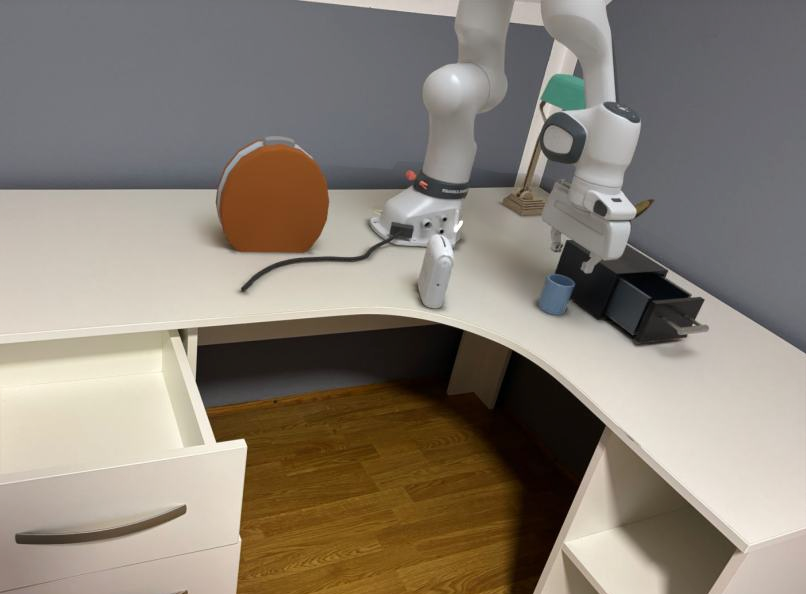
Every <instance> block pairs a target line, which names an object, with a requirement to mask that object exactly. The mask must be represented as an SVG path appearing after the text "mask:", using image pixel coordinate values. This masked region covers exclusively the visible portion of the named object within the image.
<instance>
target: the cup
mask: <svg viewBox="0 0 806 594" xmlns="http://www.w3.org/2000/svg"><path fill="white" fill-rule="evenodd" d="M574 286H575V282H574V281H573V280H572V279H570V278H568V277H566V276H563V275H559V274H555V273H549V274H548V275H547V277H546V280H545V282H544V285H543V288H542V291H541V293H540V297H539V299H538V302H537V307H538V308H539V309H540V310H541V311H543V312H545V313H547V314H550V315H553V316H562V315H564V314H565V312H566V310H567V307H568V305H569V302H570V300H571V299H570V297H571V294H572V292H573V289H574Z"/></svg>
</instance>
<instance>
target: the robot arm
mask: <svg viewBox="0 0 806 594" xmlns="http://www.w3.org/2000/svg"><path fill="white" fill-rule="evenodd" d="M515 1H516V0H458V5H457V10H456V15H455V19H454V25H453V29H454V33H455V35H456V37H457V44H458V45H457V46H458V47H457V48H458V53H457V55H458V57H457V62H456V63H448V64H444V65H442V66H441V67H439V68H437V69H436V70H434V71H432V72H431V73H429V75H428V76H427V77H426V78H425V81H424V82H423V85H422V96H421V97H422V102H423V105H424V106H425V108H426V110H427V112H428V123H429V124H428V125H429V126H428V127H429V128H428V129H429V131H428V141H427V147H426V151H425V156H424V160H423V164H422V165H423V166H422V168H421V169H420V170H419V172H418V174H417V173H416V172H414V171H413V170H408V171H407V172H406V173H405V177H406V179H408V180H409V181H410V182H412V184H411V186H409V187H407V188H406V189H404V190H402V191H401V192H399V193H398V194H396V195H394V196H393V197H391V198H389V199H388V200H387V201H386V202H385V203H384V205H383V208H382V210H381V213H380V216H372V217H370V220H369V226H370V228H371V230H373V231H374V233H376V234H377V236H379V237H380V238H382V241H380V242H378V243H376V244H374V245H373V246H371V247H370V248H369V249H368V250H367V251H366V252H365V253H364V254H362V255H358V256H334V255H333V256H332V255H329V256H328V255H327V256H325V255H323V256H303V257H293V258H288V259H284V260H280V261H277V262H275V263H272V264H270V265H268V266H266V267H264V268H262V269H261V270H259V271H258V272H256V273H254V275H252V276H251V278H249V280H247V281H246V283H244V285H242V287H241V288H240V290H241V292H245V291H246V290H247V289H249V287H250V286H251V285H252V284H253V283H254V282H255V281H256V280H258V279H259V277H261V276H262V275H264V274H266V273H268V272H269V271H271V270H273V269H275V268H278V267H280V266H281V267H282V266H284V265H289V264H293V263H300V262H319V261H338V262H339V261H340V262H355V261H361V260H364V259H366V258H368V257H369V256H370V255H371V254H372V253H373V251H375V250H376V249H378V248H380V247H382V246H384V245H386V244H389V243H390V244H393V245H395V246H406V247H407V246H408V247H423V248H424V247H426V248H427V243H428V241H429V239H430V237H432V236H433V235H435V234H438V235H443V236H445V237H446V238H447V239H448V241H449V242H450V244H451V247H452V249H454V248H456V243H458V242H460V240H461V238H462V228H461V227H462V225H463V222H464V221H463V220H462V217H463V210H464V203H465V200H466V198H467V196H468V193H469V189H470V185H471V180H470V177H471V174H472V170H473V166H474V164H475V163H474V162H475V160H476V159H475V158H476V154H477V150H478V144H477V142H476V141H475V119H476V116H477V115H480V114H483V113H487V112H489V111H491V110H493V109H494V108H496V107H497V106H498V105H499V104H500V103H501V102H503V100H504V98H505V97H506V95H507V92H508V87H509V85H508V78H507V75H506V72H505V57H506V43H507V36H508V35H507V34H508V31H509V27H510V22H511V19H512V14H513V9H514V5H515ZM606 6H607V5H606V0H540V13H541V19H542V23H543V27H544V29H545V30H546V32H547V33H548V35H549V36H551V38H553V39H554V40H555V41H556V42H558V43H560V44H562V45H563V46H564V47H566V48H567V49H568V51H570V52H571V53H573V55H575V56H576V58H577V60H578V61H579V65H580V66H581V70H582V77H583V78H582V79H583V80H584V91H585V102H586V109H583V110H570V111H566V110H562V111H558V112H553V113H552V114H550V115H549V117H548V118H546V119H547V120H546V121H545V123H544V122H543V125H542V126H541V129H540V132H541V133H540V132H539V134H540V146H541V152H542V154H543V155H544V156H545V158H546V159H547V160H549V161H551V162H553V163H554V162H555V163H558V164H565V165H572V166H574V168H575V171H574V174H573V177H572V180H571V181H569V180H568V179H566V178H561V179H558V180H557V181H555V182H554V184H553V187H552V190H551V191H550V193H549V194H548V197H547V198H548V199H547V201H546V203H545V206H544V208H543V211H542V214H541V215H540V216H541V221H542V222H544V223H546V224H547V226H549V227H551V230H550V238H551V243H550V247H549V249H550V250H551V251H552V252H553V253H562V251H563V248H564V243H562V235H563V236H565V237H567V238H568V239H569V240H573V241H575V242H576V243H578V244H579V245H581V246H583V247H584V248H586V249H587V250H589V251H590V252H591V253H590V255H589V256H590V257H591V259H590V260H589V261H588V262H583V263H582V267H581V270H582V271H583V272H585V273H591V272H592V271H593V268H594V266H595V265H596V264H597V263H598V262H599V261H601V260H602V259H603V260H616V259H618V258H619V257H621V256H622V254H623V252H624V249H625V247H626V244H627V245H628V241H629V238H630V235H631V232H630V230H631V231H632V224H631V225H630V222H629V220H631V219H633V220H635V219H634V217H635V215H636V212H637V211H636V208H635V207H634V206H635V205H633V204H632V202H631V201H630V200H629V199H628V197H627V196H626V195H625V193H624V192H623V191H622V188H623V183H624V176H625V173H626V170H627V169H628V167H629V166H630V164H631V162H632V160H633V157H634V155H635V151H636V148H637V145H638V143H639V138H640V134H641V128H642V120H641V116H640V114H638V112H637V111H636V110H635V109H634V108H631V107H630V106H628V105H625V104H623V103H620V98H619V97H620V96H619V83H618V70H617V69H618V68H617V57H616V55H617V54H616V47H615V40H614V39H615V38H614V35H613V32H612V28H611V26H610V22H609V18H608V12H607V7H606ZM631 221H632V220H631Z"/></svg>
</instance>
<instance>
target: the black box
mask: <svg viewBox="0 0 806 594" xmlns="http://www.w3.org/2000/svg"><path fill="white" fill-rule="evenodd" d="M590 253H591V252H590V251H589V250H587V249H586V248H584V247H583V246H581V245H579V244H578V243H576V242H575V241H573V240H572V239H566V240H565V243H564V244H563V247H562V250H561V254H560V256H559V260H558V263H557V265H556V268H555V270H554V274H559V275H563V276H566V277H568V278H570V279H572V280H573V281H574V282H575V286H574V289H573V292H572V294H571V297H570V300H571V301H573V302H574V303H575V304H577V305H578V306H579V307H581V308H582V309H583V310H584V311H586V312H587V313H589V314H590V315H591V316H592V317H594V318H595V319H596V320H608V319H610V318H609V317H608V316H606V315H605V314H604V313H603V312H604V310H605V307H606V305H607V303H608V300H609V298H610V295H611V293H612V290H613V288H614V285H615V283H616V281H617V278H618V277H625V276H641V275H656V274H660V275H662V276H664V277H665V278H667V275H668V273H669V269H667V268H666V267H664V266H663V265H661V264H659V263H657V262H656V261H654V260H652V259H651V258H650V257H648V256H646V255H644V254H643V253H641V252H639V251H638V250H636V249H635V248H634V247H632V246H630V245H628V243H627V244H626V247H625V249H624V252H623V254H622V256H621V257H619V258H618V259H616V260H603V259H602V260H601V261H599V262H598V263H597V264H596V265H595V266H594V268H593V271H592V272H591V273H585V272H583V271H582V270H581V267H582V263H583V262H588V261H589V260H590V259H591V257H590V256H589V255H590Z"/></svg>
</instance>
